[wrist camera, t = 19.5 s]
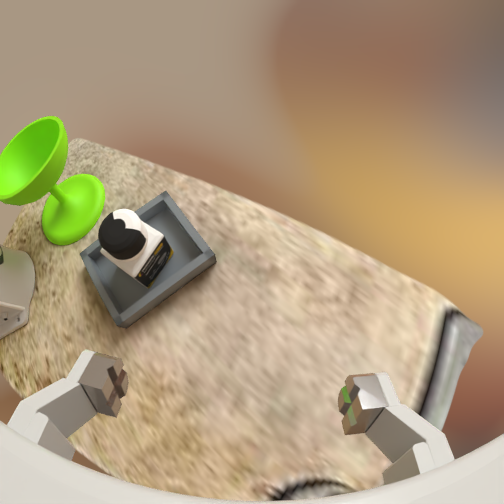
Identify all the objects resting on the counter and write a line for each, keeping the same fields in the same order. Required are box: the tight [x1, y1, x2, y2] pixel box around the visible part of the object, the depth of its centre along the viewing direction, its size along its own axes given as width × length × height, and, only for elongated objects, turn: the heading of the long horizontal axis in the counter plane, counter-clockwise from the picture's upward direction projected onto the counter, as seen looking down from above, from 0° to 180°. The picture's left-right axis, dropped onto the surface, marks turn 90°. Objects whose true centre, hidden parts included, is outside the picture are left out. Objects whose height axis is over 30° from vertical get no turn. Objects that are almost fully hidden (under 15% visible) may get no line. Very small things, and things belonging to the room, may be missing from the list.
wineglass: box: [0, 116, 105, 245], centre depth 37 cm, size 16×16×18 cm
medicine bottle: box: [98, 209, 174, 288], centre depth 36 cm, size 7×7×12 cm
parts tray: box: [80, 191, 217, 328], centre depth 41 cm, size 18×14×4 cm
